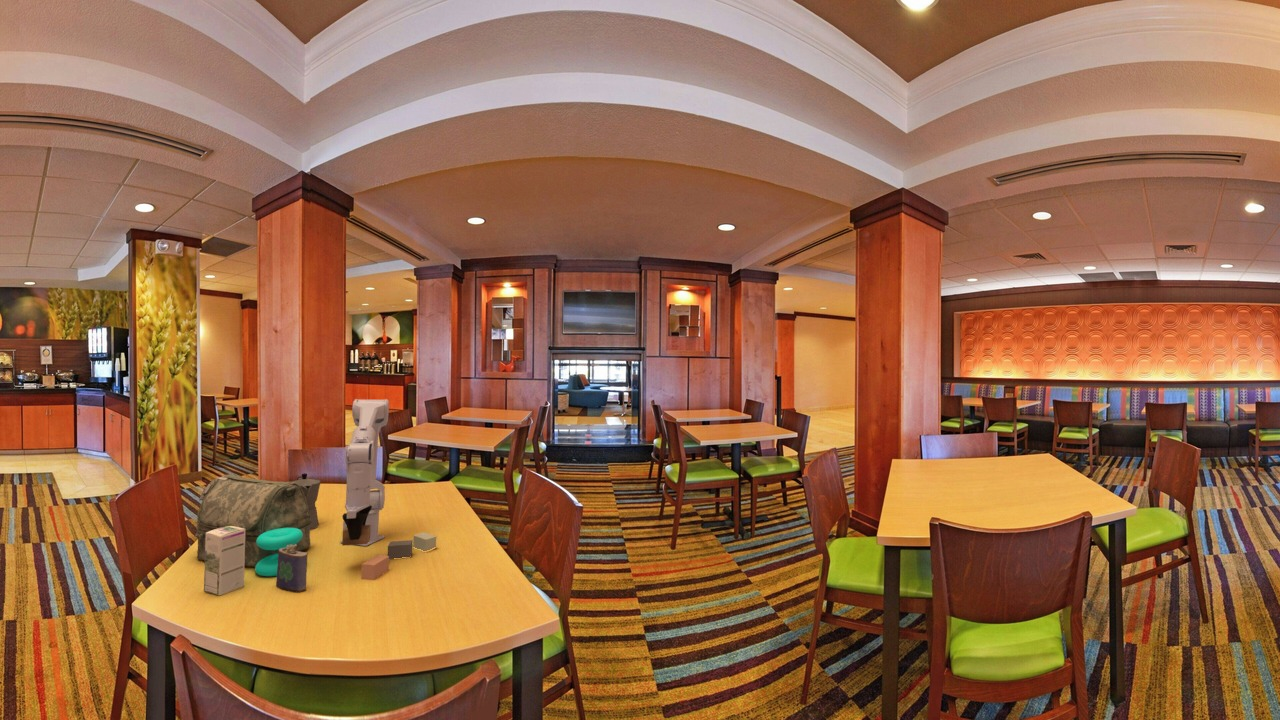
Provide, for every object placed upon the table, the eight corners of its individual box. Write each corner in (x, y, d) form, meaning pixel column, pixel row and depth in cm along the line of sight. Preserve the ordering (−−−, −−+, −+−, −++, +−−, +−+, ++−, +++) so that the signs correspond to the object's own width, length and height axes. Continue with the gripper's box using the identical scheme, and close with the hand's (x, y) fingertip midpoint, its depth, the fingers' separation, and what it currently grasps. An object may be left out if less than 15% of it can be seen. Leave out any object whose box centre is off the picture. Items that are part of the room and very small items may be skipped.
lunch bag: (181, 561, 132) (184, 480, 132) (247, 538, 150) (250, 467, 150) (258, 573, 127) (261, 489, 127) (318, 547, 145) (321, 474, 145)
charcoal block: (387, 560, 138) (387, 546, 138) (389, 555, 142) (390, 541, 142) (410, 558, 140) (410, 544, 140) (412, 553, 143) (412, 540, 143)
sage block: (435, 549, 147) (436, 536, 147) (425, 553, 144) (426, 539, 144) (423, 545, 150) (423, 532, 150) (413, 548, 147) (413, 535, 147)
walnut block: (342, 545, 130) (342, 530, 130) (345, 540, 133) (346, 526, 133) (367, 543, 132) (367, 529, 132) (370, 539, 135) (370, 524, 135)
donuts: (286, 524, 136) (311, 529, 132) (284, 559, 135) (310, 566, 132) (247, 535, 126) (273, 541, 123) (245, 574, 126) (271, 581, 123)
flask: (308, 589, 119) (310, 545, 119) (296, 594, 117) (298, 549, 117) (284, 581, 123) (285, 539, 123) (271, 586, 120) (273, 543, 120)
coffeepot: (323, 530, 159) (325, 475, 159) (288, 536, 152) (290, 479, 152) (313, 518, 170) (315, 466, 170) (280, 523, 163) (282, 470, 163)
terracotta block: (373, 580, 125) (374, 565, 125) (361, 579, 126) (361, 564, 126) (388, 570, 131) (389, 556, 131) (376, 569, 132) (377, 554, 132)
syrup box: (245, 586, 120) (247, 527, 120) (217, 596, 114) (220, 535, 114) (229, 582, 121) (232, 524, 122) (201, 592, 116) (204, 531, 116)
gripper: (369, 493, 127) (367, 545, 127) (380, 479, 140) (378, 526, 140) (338, 494, 124) (336, 547, 124) (352, 480, 138) (350, 528, 138)
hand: (356, 536), depth 132 cm, fingers closed on walnut block, 3 cm apart
